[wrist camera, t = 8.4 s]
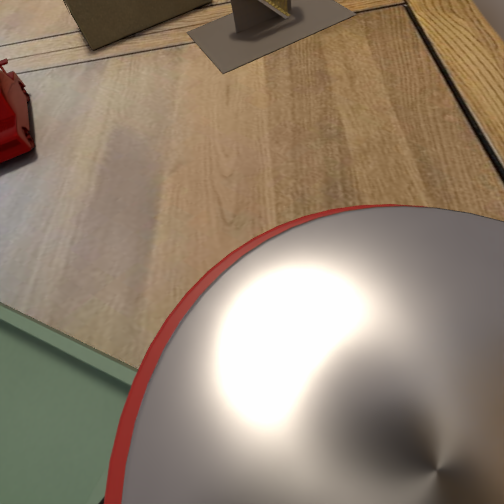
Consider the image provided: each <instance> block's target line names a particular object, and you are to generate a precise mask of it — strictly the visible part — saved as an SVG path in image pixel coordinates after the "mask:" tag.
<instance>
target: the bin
mask: <svg viewBox="0 0 504 504" xmlns="http://www.w3.org/2000/svg"><path fill="white" fill-rule="evenodd" d="M137 371H138V369H136V368H134V367H132V366H130V365H128V364H126V363H124V362H122V361H120V360H118V359H116V358H114V357H112V356H110V355H108V354H105V353H103V352H101V351H99V350H97V349H95V348H93V347H91V346H89V345H87V344H85V343H83V342H81V341H79V340H77V339H75V338H73V337H71V336H69V335H67V334H64V333H62V332H60V331H58V330H56V329H54V328H52V327H50V326H48V325H46V324H44V323H42V322H40V321H38V320H36V319H34V318H32V317H30V316H28V315H25V314H23V313H21V312H19V311H17V310H15V309H13V308H11V307H9V306H7V305H5V304H3V303H1V302H0V504H98V503H99V502H100V501H101V500H102V498H103V497H104V496H105V491H106V483H107V476H108V469H109V462H110V457H111V453H112V449H113V445H114V441H115V436H116V432H117V428H118V424H119V420H120V416H121V414H122V411H123V408H124V405H125V402H126V399H127V397H128V394H129V391H130V388H131V385H132V382H133V380H134V378H135V376H136V373H137Z"/></svg>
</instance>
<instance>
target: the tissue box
mask: <svg viewBox="0 0 504 504" xmlns="http://www.w3.org/2000/svg"><path fill="white" fill-rule="evenodd" d="M63 1H65V2H64V3H66V4H67V6H68V8H69V10H70V13H71V15H72V16H73V18H74V20H75V22H76V23H77V25H78V27H79V28H80V30H81V32H82V34H83V35H84V37H85V39H86V40H87V42H88V44H89V46H90V48H91V49H92V50H95V49H98V48H100V47H103V46H105V45H108V44H110V43H112V42H115V41H117V40H120V39H122V38H125V37H127V36H129V35H132V34H134V33H137V32H139V31H142V30H144V29H146V28H149V27H151V26H154V25H156V24H159V23H161V22H164V21H166V20H168V19H171V18H173V17H176V16H178V15H181V14H183V13H185V12H188V11H190V10H193V9H195V8H198V7H200V6H203V5H205V4H207V3H210V2H211V0H63ZM66 4H65V5H66ZM67 6H66V7H67ZM67 10H68V9H67ZM68 12H69V11H68ZM70 13H69V14H70Z"/></svg>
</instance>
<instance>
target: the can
mask: <svg viewBox="0 0 504 504" xmlns="http://www.w3.org/2000/svg"><path fill="white" fill-rule="evenodd" d="M104 504H504V221H500V220H496V219H492V218H488V217H484V216H480V215H476V214H472V213H467V212H460V211H454V210H447V209H441V208H431V207H424V206H411V205H395V204H384V205H360V206H352V207H345V208H338V209H331V210H327V211H323V212H319V213H315V214H311V215H307V216H304V217H301V218H298V219H295V220H293V221H290V222H287V223H284V224H282V225H279V226H277V227H275V228H273V229H271V230H269V231H267V232H265V233H263V234H261V235H259V236H257V237H255V238H253V239H251V240H250V241H248V242H247V243H245V244H244V245H242V246H240V247H239V248H237V249H236V250H234V251H233V252H231V253H230V254H228V255H227V256H226V257H225V258H223V259H222V260H221V261H220V262H219V263H217V264H216V265H215V266H214V267H212V268H211V269H210V270H209V271H208V272H207V273H206V274H205V275H204V276H203V277H202V278H201V279H200V280H199V281H198V282H197V283H196V284H195V285H194V286H193V287H192V288H191V289H190V290H189V291H188V292H187V293H186V294H185V296H184V297H183V298H182V299H181V301H180V302H179V303H178V305H177V306H176V307H175V308H174V310H173V311H172V312H171V314H170V315H169V316H168V317H167V319H166V320H165V322H164V324H163V325H162V327H161V329H160V330H159V332H158V333H157V335H156V337H155V338H154V340H153V342H152V343H151V345H150V346H149V348H148V350H147V352H146V355H145V357H144V359H143V361H142V363H141V365H140V367H139V369H138V371H137V373H136V376H135V378H134V380H133V382H132V385H131V388H130V391H129V394H128V397H127V399H126V402H125V405H124V408H123V411H122V414H121V416H120V420H119V424H118V428H117V432H116V436H115V441H114V445H113V449H112V453H111V457H110V462H109V469H108V476H107V483H106V491H105V498H104Z"/></svg>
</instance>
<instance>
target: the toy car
mask: <svg viewBox="0 0 504 504" xmlns="http://www.w3.org/2000/svg"><path fill="white" fill-rule="evenodd" d="M5 64H8V60H7V58H6V59H4V60H1V61H0V68H1V69H2V70H0V163H1V162H4V161H6V160H9V159H11V158H14V157H16V156H18V155H21V154H23V153H26V152H28V151H30V150H31V148H34V147H35V144H34V141H33V139H32V138H31V136H30V135H29V134H28V132H29V131H30V129H29V119H28V108H27V102H28V101H30V98H29V95H28V93H27V92H26V90H25V89H24V87H25V85H24V83H23V82H22V81H21V80H20V78H19V77H18V76H17V75H16V73H15V72H14V71H12V72H9V73H6V71H5V70H4V68H3V67H2V65H5Z"/></svg>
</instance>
